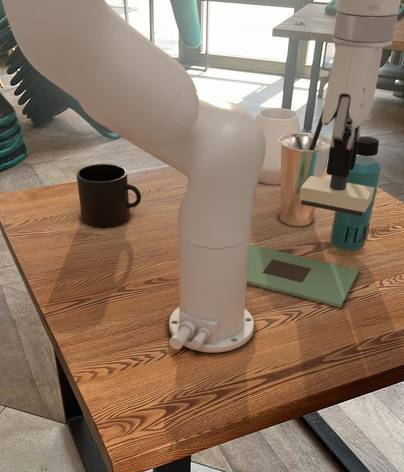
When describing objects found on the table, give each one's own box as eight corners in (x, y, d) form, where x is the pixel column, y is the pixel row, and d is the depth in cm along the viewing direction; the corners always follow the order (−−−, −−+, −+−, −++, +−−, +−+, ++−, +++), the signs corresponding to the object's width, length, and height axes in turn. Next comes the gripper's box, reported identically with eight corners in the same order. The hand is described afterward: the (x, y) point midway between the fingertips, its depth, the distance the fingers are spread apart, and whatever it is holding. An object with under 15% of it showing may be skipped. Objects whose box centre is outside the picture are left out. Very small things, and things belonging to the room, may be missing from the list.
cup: (263, 192, 124) (269, 126, 116) (232, 171, 133) (235, 109, 125) (313, 181, 129) (322, 117, 121) (279, 162, 138) (285, 101, 130)
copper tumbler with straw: (323, 207, 119) (349, 45, 100) (327, 232, 110) (356, 59, 91) (271, 204, 120) (287, 43, 101) (270, 228, 111) (288, 57, 92)
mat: (340, 307, 90) (341, 303, 90) (224, 277, 96) (224, 274, 96) (358, 272, 98) (359, 269, 98) (250, 247, 105) (250, 244, 104)
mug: (137, 230, 109) (134, 184, 104) (76, 226, 110) (70, 180, 105) (146, 209, 117) (144, 165, 111) (89, 205, 118) (84, 162, 112)
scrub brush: (363, 217, 84) (379, 143, 77) (298, 204, 87) (307, 132, 80) (371, 204, 87) (386, 132, 81) (308, 192, 91) (317, 122, 84)
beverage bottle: (337, 261, 101) (358, 147, 89) (321, 243, 106) (339, 133, 94) (370, 256, 103) (396, 144, 90) (353, 240, 108) (375, 131, 95)
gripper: (350, 16, 79) (329, 150, 91) (317, 36, 68) (298, 186, 80) (405, 21, 77) (377, 158, 88) (380, 43, 65) (352, 196, 77)
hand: (340, 170), depth 84 cm, fingers closed on scrub brush, 2 cm apart
